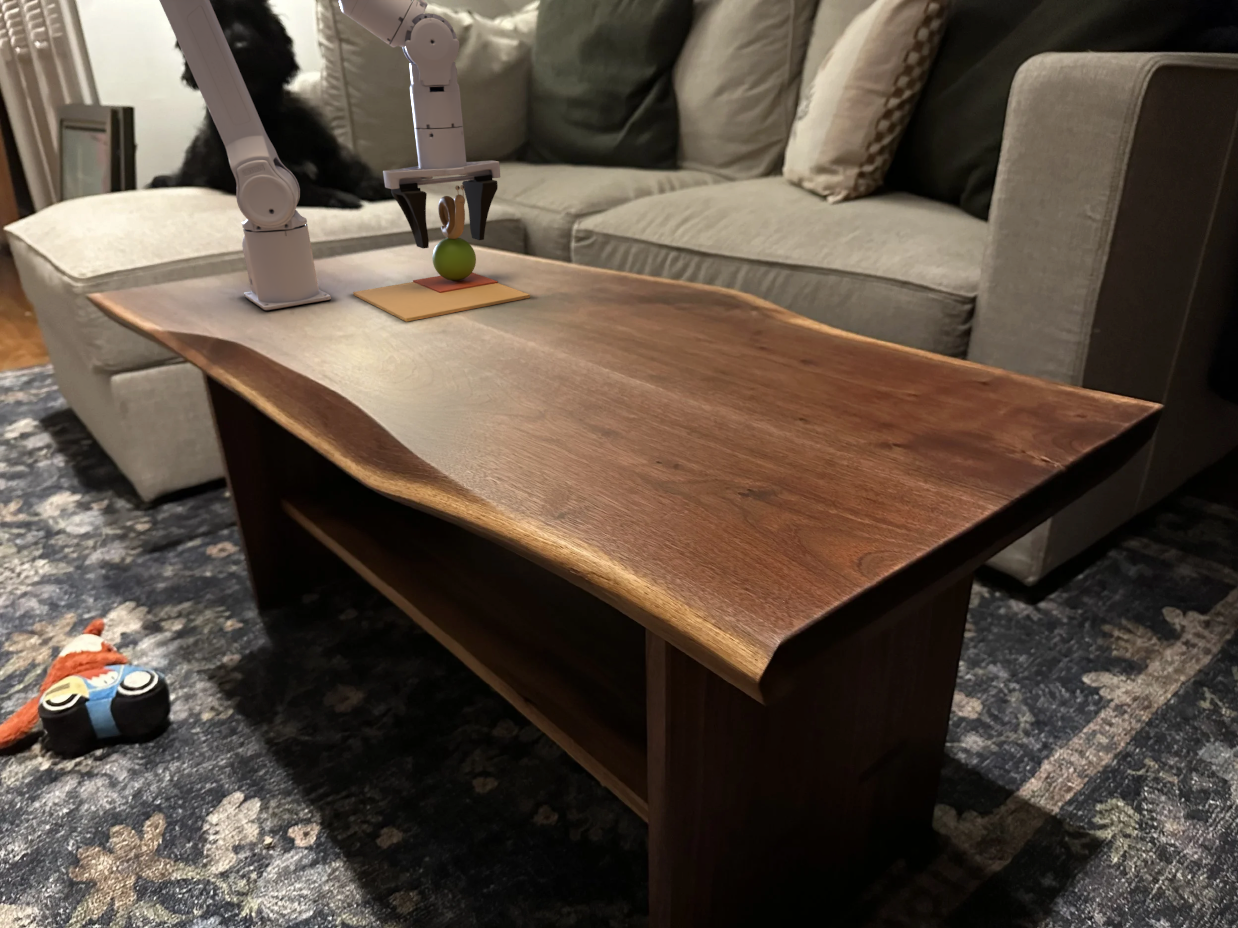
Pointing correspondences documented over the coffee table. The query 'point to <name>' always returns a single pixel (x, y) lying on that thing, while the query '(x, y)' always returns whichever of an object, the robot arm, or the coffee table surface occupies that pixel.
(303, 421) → the coffee table surface
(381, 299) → the corner mat
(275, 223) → the robot arm
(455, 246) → the snail figurine
